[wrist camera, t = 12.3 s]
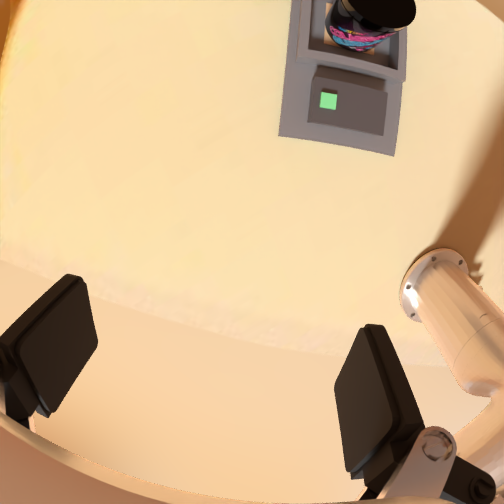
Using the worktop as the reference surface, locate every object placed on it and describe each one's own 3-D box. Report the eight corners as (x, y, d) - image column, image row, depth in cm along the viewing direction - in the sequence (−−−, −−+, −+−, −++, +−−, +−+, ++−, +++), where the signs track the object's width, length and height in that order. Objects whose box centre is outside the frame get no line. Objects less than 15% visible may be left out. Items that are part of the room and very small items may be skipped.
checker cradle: (400, 3, 22) (414, -9, 18) (391, 155, 31) (406, 160, 27) (293, -22, 22) (295, -39, 18) (278, 135, 31) (279, 136, 27)
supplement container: (311, 28, 25) (327, -9, 15) (344, -3, 22) (368, -42, 13) (358, 64, 26) (392, 42, 17) (388, 32, 24) (428, 5, 14)
